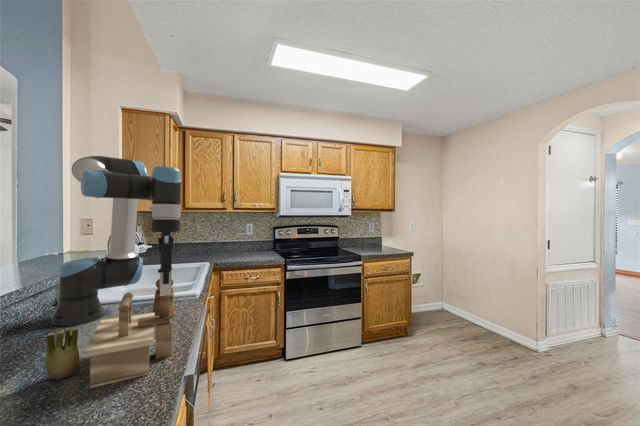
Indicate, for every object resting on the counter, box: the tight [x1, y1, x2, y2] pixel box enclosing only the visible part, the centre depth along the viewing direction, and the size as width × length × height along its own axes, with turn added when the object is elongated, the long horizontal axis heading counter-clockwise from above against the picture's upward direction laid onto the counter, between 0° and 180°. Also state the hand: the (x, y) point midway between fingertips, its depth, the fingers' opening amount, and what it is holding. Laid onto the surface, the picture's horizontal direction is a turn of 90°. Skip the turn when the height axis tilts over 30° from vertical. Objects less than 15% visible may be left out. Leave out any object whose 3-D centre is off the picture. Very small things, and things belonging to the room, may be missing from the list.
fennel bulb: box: [45, 327, 81, 381], centre depth 71 cm, size 6×5×12 cm
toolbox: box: [89, 318, 173, 389], centre depth 80 cm, size 20×18×10 cm
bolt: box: [138, 295, 171, 327], centre depth 82 cm, size 3×8×12 cm, turn 120°
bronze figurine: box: [151, 278, 177, 319], centre depth 112 cm, size 9×14×18 cm, turn 29°
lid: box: [83, 292, 155, 358], centre depth 78 cm, size 22×14×11 cm, turn 30°
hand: (165, 289), depth 83 cm, fingers open, 13 cm apart
